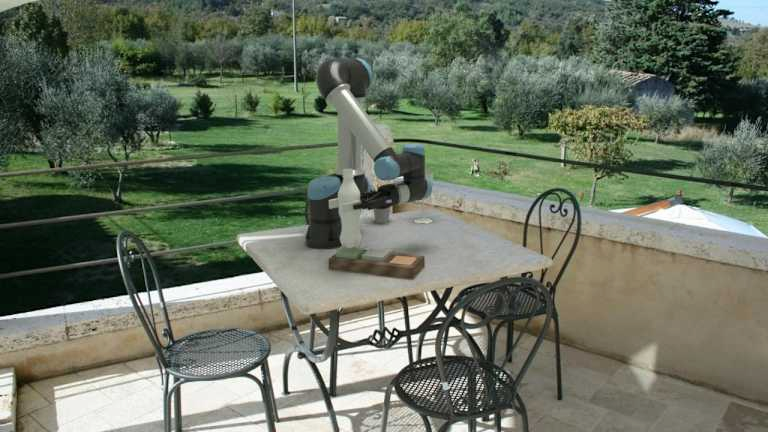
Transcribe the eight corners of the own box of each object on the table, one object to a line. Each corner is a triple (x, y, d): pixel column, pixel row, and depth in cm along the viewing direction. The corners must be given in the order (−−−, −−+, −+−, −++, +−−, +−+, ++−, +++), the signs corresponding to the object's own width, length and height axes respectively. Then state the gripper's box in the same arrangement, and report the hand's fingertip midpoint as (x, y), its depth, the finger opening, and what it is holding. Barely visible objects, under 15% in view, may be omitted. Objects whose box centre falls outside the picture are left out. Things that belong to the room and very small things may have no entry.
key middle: (361, 263, 194) (361, 255, 193) (370, 256, 200) (370, 248, 200) (383, 265, 191) (383, 257, 191) (391, 258, 198) (391, 250, 197)
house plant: (354, 222, 248) (352, 183, 244) (376, 215, 258) (375, 177, 254) (381, 228, 239) (380, 187, 235) (403, 220, 250) (402, 181, 245)
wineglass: (435, 218, 251) (435, 170, 246) (429, 224, 243) (430, 175, 238) (416, 217, 254) (416, 169, 248) (410, 223, 246) (410, 174, 241)
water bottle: (363, 242, 201) (360, 167, 194) (360, 249, 194) (357, 171, 187) (342, 242, 201) (338, 167, 195) (338, 249, 195) (334, 171, 188)
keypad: (328, 269, 196) (328, 258, 195) (344, 257, 207) (343, 247, 206) (412, 279, 186) (412, 268, 185) (424, 266, 197) (424, 255, 196)
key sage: (336, 260, 197) (335, 252, 196) (345, 253, 203) (344, 245, 203) (356, 263, 194) (356, 254, 194) (365, 256, 201) (365, 247, 200)
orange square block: (388, 271, 191) (388, 262, 190) (396, 263, 198) (396, 255, 197) (410, 273, 189) (410, 265, 188) (417, 266, 195) (417, 257, 194)
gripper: (412, 210, 198) (356, 224, 184) (374, 200, 213) (319, 212, 199) (412, 187, 197) (355, 199, 183) (373, 179, 211) (318, 189, 197)
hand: (336, 206), depth 191 cm, fingers closed on water bottle, 7 cm apart
